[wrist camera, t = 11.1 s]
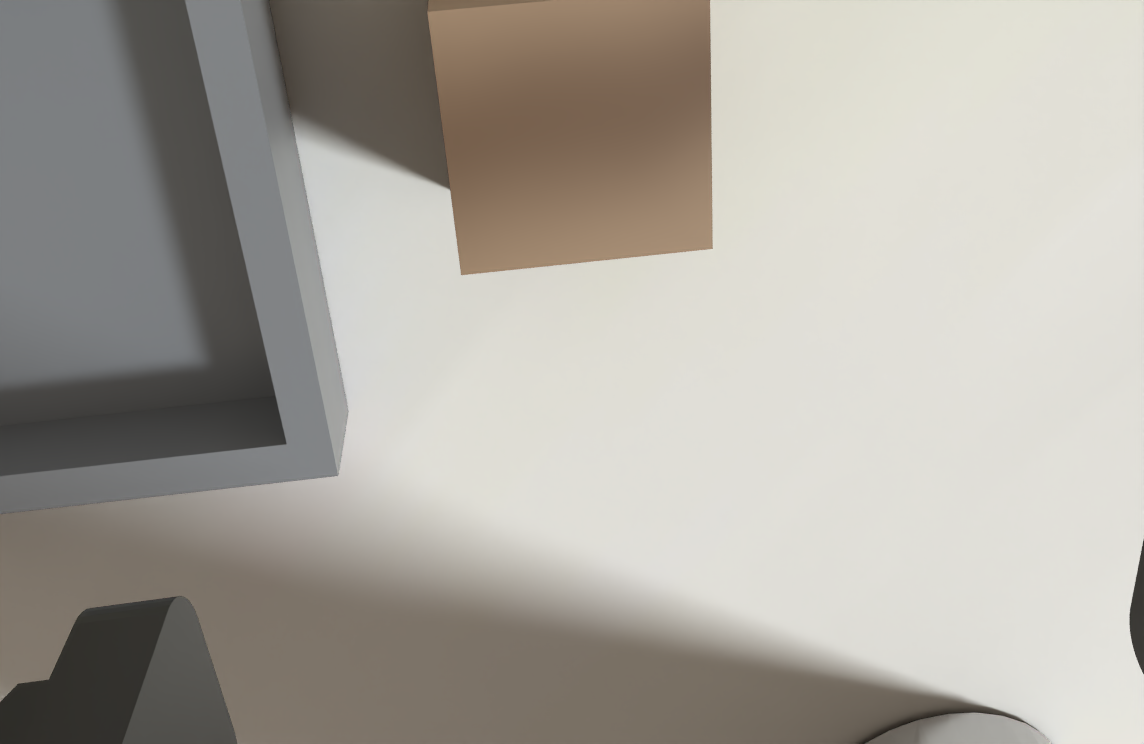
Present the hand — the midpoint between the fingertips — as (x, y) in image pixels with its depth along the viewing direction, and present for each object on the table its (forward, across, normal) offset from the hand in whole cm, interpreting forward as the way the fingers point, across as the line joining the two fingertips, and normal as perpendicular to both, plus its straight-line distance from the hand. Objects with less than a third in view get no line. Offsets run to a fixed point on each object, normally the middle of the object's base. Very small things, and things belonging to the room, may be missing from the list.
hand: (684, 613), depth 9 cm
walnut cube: (+18, 0, 0) cm, 18 cm away
